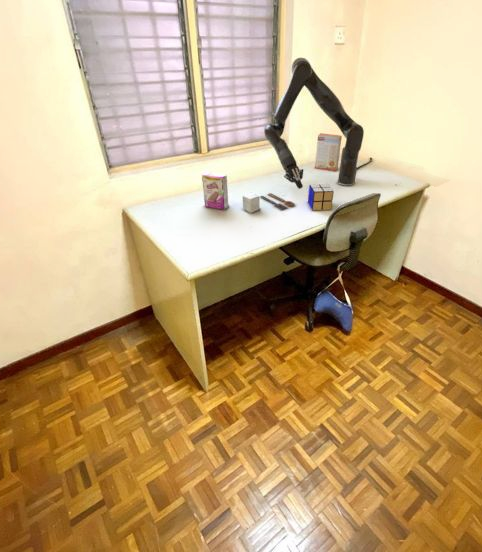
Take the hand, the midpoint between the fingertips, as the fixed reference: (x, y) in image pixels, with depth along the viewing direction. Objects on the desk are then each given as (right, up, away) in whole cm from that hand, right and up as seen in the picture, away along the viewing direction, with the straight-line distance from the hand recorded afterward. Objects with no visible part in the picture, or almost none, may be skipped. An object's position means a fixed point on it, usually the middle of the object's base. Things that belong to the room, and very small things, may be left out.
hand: (300, 188), depth 177 cm
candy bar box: (-43, -12, -10) cm, 46 cm away
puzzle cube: (+9, -11, -7) cm, 16 cm away
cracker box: (+20, +23, +40) cm, 51 cm away
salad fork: (-15, -9, -5) cm, 18 cm away
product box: (-26, -14, -11) cm, 32 cm away
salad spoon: (-11, -7, -2) cm, 13 cm away
